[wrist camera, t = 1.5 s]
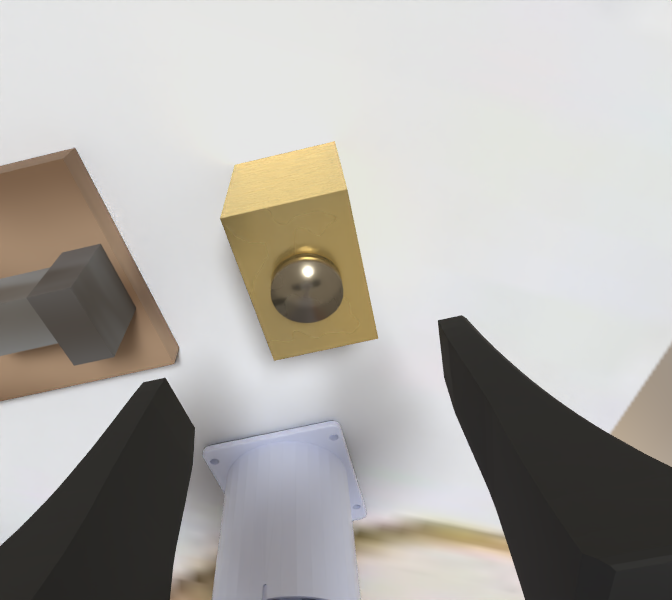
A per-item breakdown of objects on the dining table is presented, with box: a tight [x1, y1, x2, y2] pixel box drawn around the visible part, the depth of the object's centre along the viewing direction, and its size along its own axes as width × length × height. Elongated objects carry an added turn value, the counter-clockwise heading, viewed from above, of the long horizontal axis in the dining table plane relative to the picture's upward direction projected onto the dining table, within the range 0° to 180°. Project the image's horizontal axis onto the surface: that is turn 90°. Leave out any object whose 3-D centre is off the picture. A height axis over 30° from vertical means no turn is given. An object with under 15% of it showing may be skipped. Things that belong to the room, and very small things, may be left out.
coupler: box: [220, 141, 378, 361], centre depth 18 cm, size 6×4×6 cm, turn 12°
